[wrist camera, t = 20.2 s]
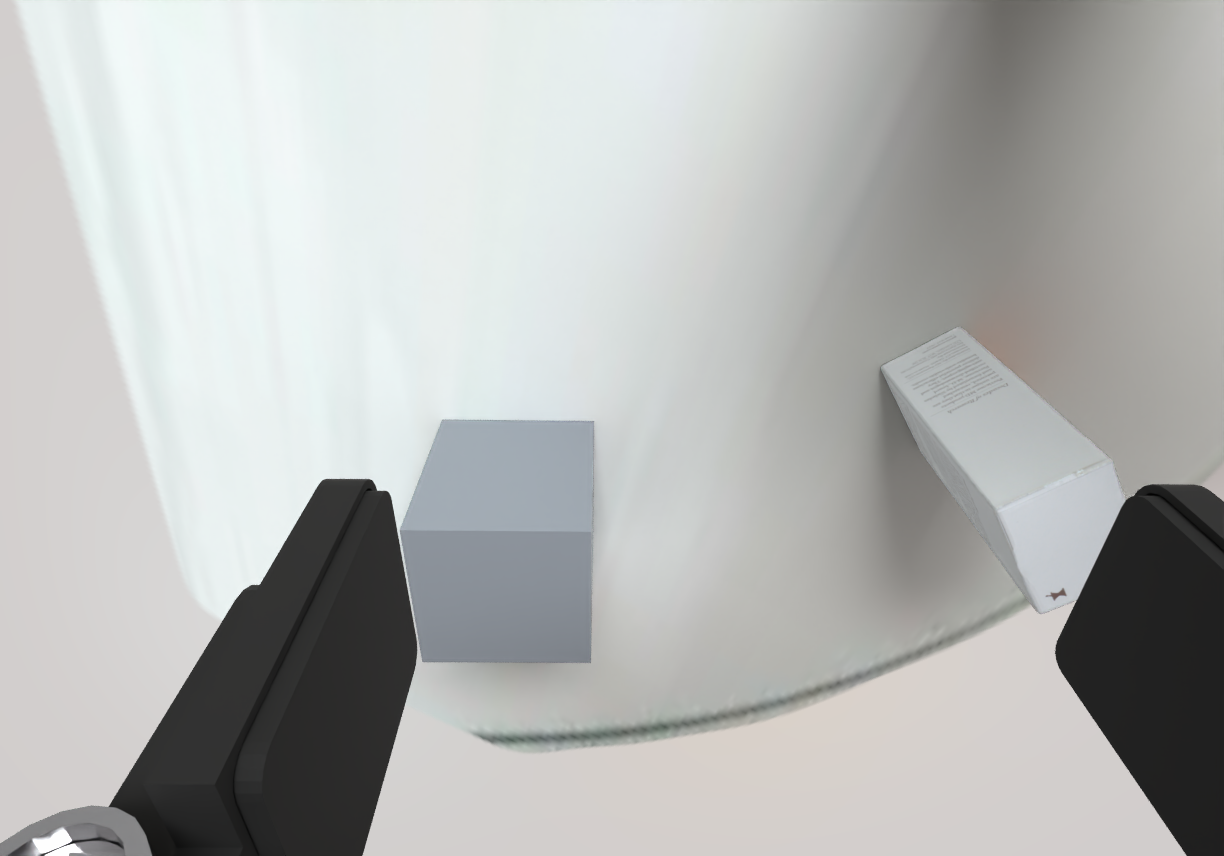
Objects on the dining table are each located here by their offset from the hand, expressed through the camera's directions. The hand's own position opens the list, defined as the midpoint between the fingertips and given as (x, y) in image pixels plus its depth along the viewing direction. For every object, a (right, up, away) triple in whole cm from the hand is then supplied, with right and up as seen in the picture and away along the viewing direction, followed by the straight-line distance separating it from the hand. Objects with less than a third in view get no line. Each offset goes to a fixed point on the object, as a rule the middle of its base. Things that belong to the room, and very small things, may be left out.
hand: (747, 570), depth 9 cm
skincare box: (+15, +4, +26) cm, 30 cm away
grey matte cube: (-7, -1, +29) cm, 30 cm away
